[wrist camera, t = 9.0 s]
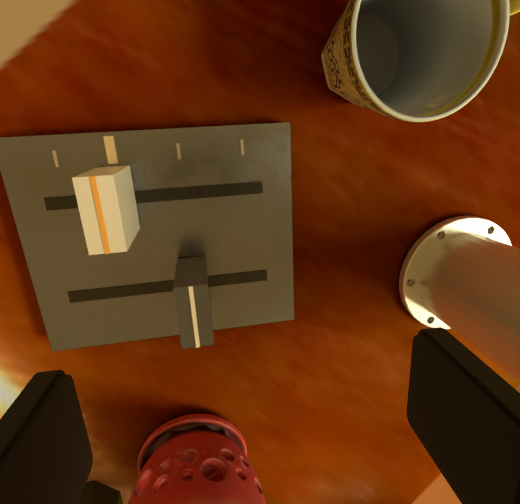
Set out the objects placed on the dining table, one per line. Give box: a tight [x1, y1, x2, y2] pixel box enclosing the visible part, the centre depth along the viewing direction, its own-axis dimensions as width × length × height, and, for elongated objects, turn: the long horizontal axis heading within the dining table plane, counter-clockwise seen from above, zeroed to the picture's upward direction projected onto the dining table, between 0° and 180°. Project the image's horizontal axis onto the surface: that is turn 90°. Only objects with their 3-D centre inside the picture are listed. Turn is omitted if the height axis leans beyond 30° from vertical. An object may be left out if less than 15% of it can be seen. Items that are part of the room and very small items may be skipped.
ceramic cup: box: [321, 0, 520, 122], centre depth 26 cm, size 13×10×10 cm
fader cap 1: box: [72, 165, 140, 255], centre depth 26 cm, size 2×5×6 cm, turn 3°
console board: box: [0, 122, 294, 351], centre depth 31 cm, size 22×18×2 cm
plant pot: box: [128, 414, 266, 504], centre depth 35 cm, size 13×13×12 cm
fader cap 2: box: [173, 256, 214, 349], centre depth 29 cm, size 2×5×6 cm, turn 3°
